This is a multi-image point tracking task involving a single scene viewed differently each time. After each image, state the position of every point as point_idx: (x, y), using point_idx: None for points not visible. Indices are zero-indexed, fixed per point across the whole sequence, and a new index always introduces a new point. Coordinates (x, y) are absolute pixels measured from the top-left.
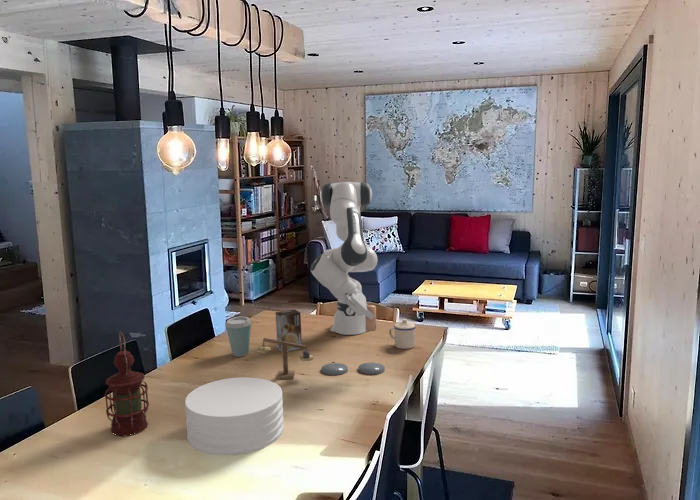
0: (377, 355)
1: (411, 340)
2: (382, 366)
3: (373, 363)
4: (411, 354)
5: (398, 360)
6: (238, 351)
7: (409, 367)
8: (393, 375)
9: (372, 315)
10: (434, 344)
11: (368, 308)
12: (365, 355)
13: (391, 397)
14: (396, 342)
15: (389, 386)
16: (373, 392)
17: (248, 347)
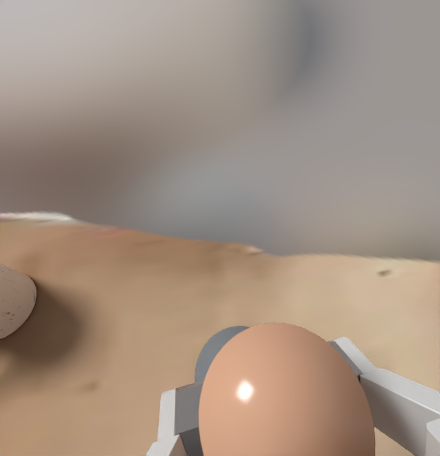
0: (95, 387)
1: (14, 272)
2: (225, 336)
3: (203, 377)
4: (89, 272)
5: (143, 300)
6: None
7: (196, 260)
8: (267, 292)
9: (356, 352)
10: (8, 224)
11: (368, 430)
12: (93, 443)
13: (414, 268)
14: (2, 328)
15: (349, 287)
16: (412, 323)
17: None
